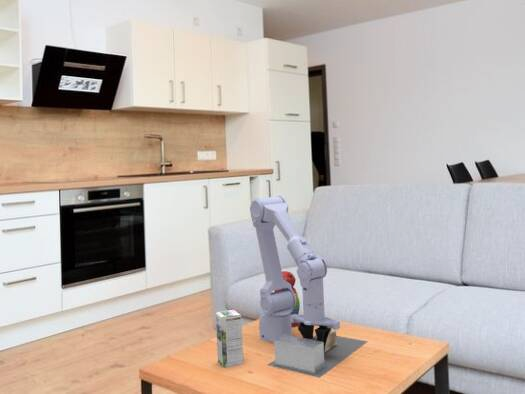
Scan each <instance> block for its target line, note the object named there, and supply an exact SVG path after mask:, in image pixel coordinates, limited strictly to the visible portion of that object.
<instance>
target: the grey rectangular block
mask: <svg viewBox="0 0 525 394" xmlns="http://www.w3.org/2000/svg"><path fill="white" fill-rule="evenodd" d="M273 345H274V346H273V347H274V360H275V365H277V366H282V367H286V368H290V369H294V370H299V371H303V372H307V373H311V374H316V373H317V372H319V371H320V370H321V369H323V368H324V367H325V365H324V345H323V342H322V341H316V340H311V339H306V338H303V337H302V336H301V337H299V336H294V335H292V336H290V335H283V336H281V337H279V338H277V339H275V340H274V343H273Z"/></svg>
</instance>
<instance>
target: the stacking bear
mask: <svg viewBox="0 0 525 394" xmlns="http://www.w3.org/2000/svg"><path fill="white" fill-rule="evenodd" d="M282 275H283V279H284V280H285V281H287V282H288V283H290V284H291V286H292V290H293V292H294V294H295V296H296V306H295V308H293V312H291V315H293V314H300V308H301V307H300V306H301V305H300V298H299V295H298V294H299V293H298V291H297V290H296V288H295V284H296V281H297V280H296V277H295V276H294V274H293V273H292V272H291V271H288V270H287V271H282ZM277 291H281V290H280V289H279V290H274V291H273V292H277ZM291 325H292V328H293V327H299V326H300V323H297V322H294V323H291Z"/></svg>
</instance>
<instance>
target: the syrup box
mask: <svg viewBox="0 0 525 394" xmlns="http://www.w3.org/2000/svg"><path fill="white" fill-rule="evenodd" d="M215 323H216V327H215V328H216V329H215V330H216V346H217V347H216V349H217V362H218V363H219V364H220V366H222V368H225V369H226V368H229V367H234V366H239V365H243V364H244V345H243V343H244V342H243V325H242V314H240V313H239V312H237V310H234V309H231V310H230V309H228V310H222V311H217V312H215Z"/></svg>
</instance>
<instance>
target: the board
mask: <svg viewBox="0 0 525 394" xmlns="http://www.w3.org/2000/svg"><path fill="white" fill-rule="evenodd" d="M315 336H316V334H315V335H313V337H315ZM336 342H337V344H336V345H335V346H333V347H332V348H331V349H329V350H328V351H326V352H325V353H324V365H325V367H324V368H323V369H321V370H320V371H319V372H317V373H316V374H311V373H307V372H303V371H299V370H294V369H290V368H286V367H282V366H277V365H275V359H274V360H272V361H271V362H270V363H268V364H267V366H269V367H272V368H278V369H282V370H286V371H289V372H294V373H299V374H303V375H308V376H311V377H315V378H321V377H322V376H324V375H325V374H327V373H328V372H329V371H331V370H332V369H333V368H335V367H336V366H337V365H339V364H340V363H341V362H342V361H344V360H345V359H347V358H348V357H350V355H352V354H353V353H355V352H356V351H358V350H359V349H360V348H361V347H363V346H364V345H365V344H367V343H368V341H367V340H361V339H356V338H352V337H351V338H349V337H345V336H341V335H340V336H339V335H336Z"/></svg>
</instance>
